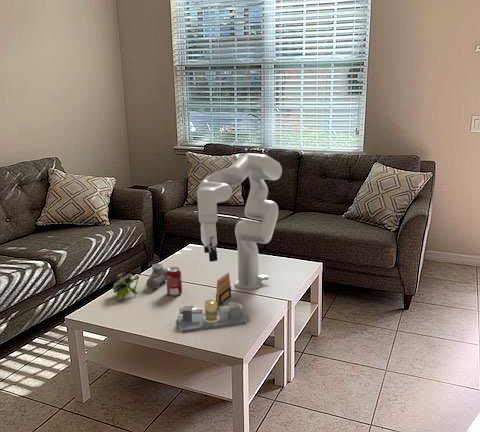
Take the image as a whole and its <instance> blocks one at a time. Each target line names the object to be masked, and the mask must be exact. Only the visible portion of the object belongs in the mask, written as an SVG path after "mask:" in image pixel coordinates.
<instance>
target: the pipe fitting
mask: <svg viewBox="0 0 480 432" xmlns="http://www.w3.org/2000/svg"><path fill="white" fill-rule="evenodd" d="M151 268H152V273H151V274H150V277H148V279H146V280H147V281H146V286H147V287H148V288H149V289H150V290H157V289H158V288H159V287H160V285H161V284H162V283H163V282H167V280H166V272H167V269H168V268H166V267H165V266H164V265H163V264H162V263H154V264H152V266H151Z"/></svg>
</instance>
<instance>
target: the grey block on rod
mask: <svg viewBox="0 0 480 432" xmlns="http://www.w3.org/2000/svg"><path fill="white" fill-rule="evenodd" d="M203 311H204V310H203V307H194V306H193V305H183V307H180V308H179V315H182V316H183V322H192V319H193V314H202V313H204V312H203Z"/></svg>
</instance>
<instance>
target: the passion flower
mask: <svg viewBox="0 0 480 432" xmlns="http://www.w3.org/2000/svg"><path fill="white" fill-rule="evenodd" d="M139 278H140V276H139V274H136V275H135V276H134V275H133V273H128V274H126V273H125V272H122V273H120V274H117V275H116V279H117V281H115V282H114V284H113V287H112V288H111V290H113V293H114V294H115V293H116V294H115V301H121V300H122V299H126V297H128V295H130V292H131V293H132V294H134V296H136V295H139V294H138V292H137V291H136V290H137V284H138V281H139ZM134 281H135V282H136V283H135V286H134V287H131V284H132V283H133V282H134Z"/></svg>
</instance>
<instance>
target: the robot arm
mask: <svg viewBox="0 0 480 432" xmlns="http://www.w3.org/2000/svg"><path fill="white" fill-rule="evenodd" d="M282 174H283V167H282V165H281V163H280V162H279V161H277V160H275V159H274V158H272V157H271V156H269V155H267V154H263V153H262V154H261V153H250V152H249V153H244V154H242V155H241V156H240V157H239V158H238V159H237V160H235V161H234V162H233V163H232V164H231V165H230V166H229V167H227V168H223V169H220V170H218V171H214V172H212V173H211V174H209V175H208V176H206V177H205V178H204V179H203V180H202V181H201V182H200V184H199V185H198V189H197V191H196V197H197V199H196V200H197V208H198V209H197V210H198V222H199V223H200V238H201V242H202V244H203V249H204V253H205V254H208V257H209V258H208V259H209V262H211V263H212V262H217V261H218V251H217V245H218V238H217V225H216V223H218V206H217V205H218V203H224V202H227V201H228V200H229V199H231V197H232V194H233V189H232V187H231V186H235V185H236V186H237V185H240V184H241V183H243V182H244V181H245V180H246V179H247V178H248V179H249V184H250V189H249V192H248V197H247V200H246V203H245V205H244V215H245V217H246V218H249V219H253V220H248V219H243V220H239V221H237V223H236V224H235V227H234V233H235V238H236V243H237V276H238V277H237V278H238V279H237V280H236V281H235V282H234V285H235V287H236V288H238V289H240V290H247V291H248V290H251V291H252V290H257V289H259V288H260V287H261V286H262V285H263V284H262V283H263V281H268V280H269V276H268V275H265V274H259V249H258V245H257V244H263V245H265V244H269V243H270V241H271V240H272V238H273V235H274V230H275V227H276V223H277V221H278V217H279V206H278V204H277V202H275V201H274V200H269V199H267V197H268V195H269V188H268V185H267V183H266V182H265V180H269V181H277V180H279V179H280V178H281V176H282ZM257 220H258V221H257Z"/></svg>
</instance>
